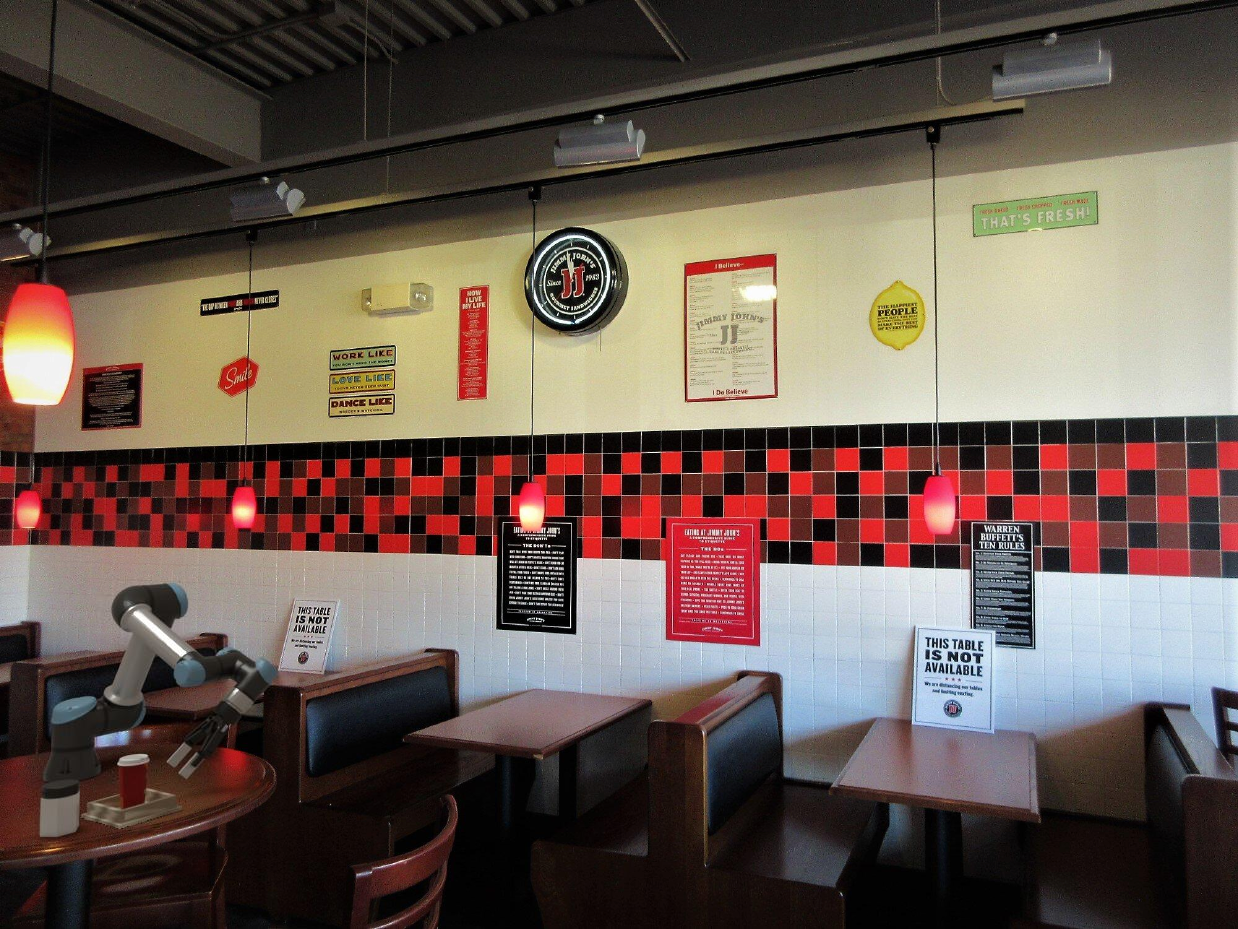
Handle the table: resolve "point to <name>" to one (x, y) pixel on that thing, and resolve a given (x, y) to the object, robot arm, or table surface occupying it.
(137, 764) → the paper cup
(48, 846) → the table surface
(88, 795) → the table surface
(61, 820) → the jar
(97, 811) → the cup tray
